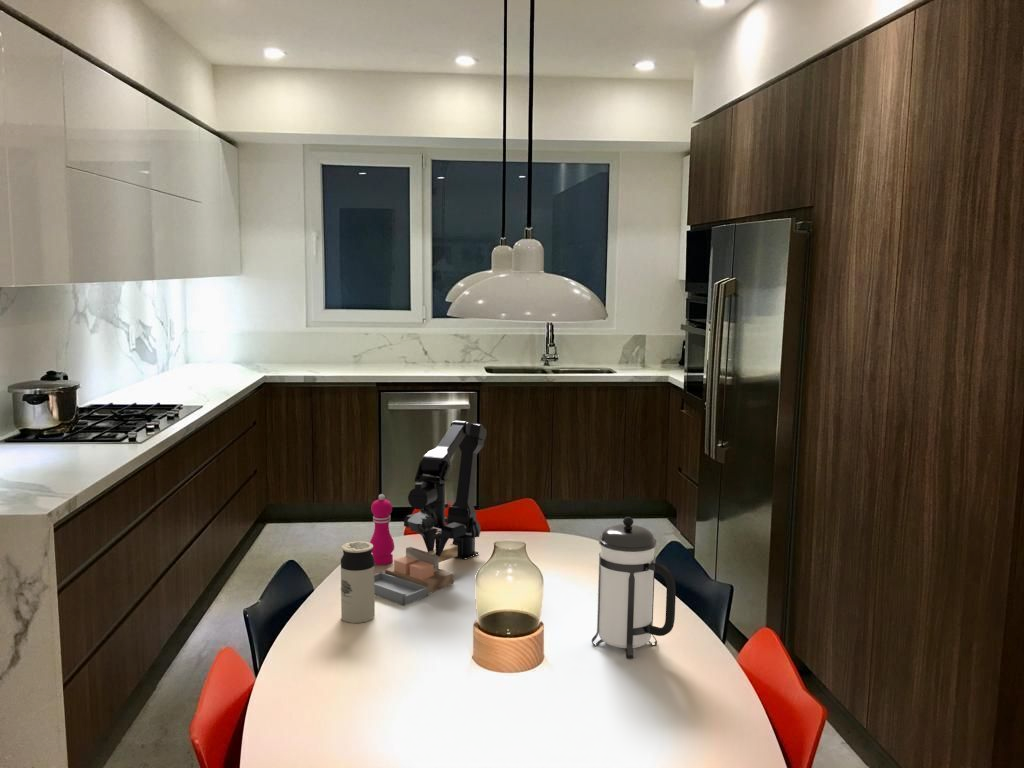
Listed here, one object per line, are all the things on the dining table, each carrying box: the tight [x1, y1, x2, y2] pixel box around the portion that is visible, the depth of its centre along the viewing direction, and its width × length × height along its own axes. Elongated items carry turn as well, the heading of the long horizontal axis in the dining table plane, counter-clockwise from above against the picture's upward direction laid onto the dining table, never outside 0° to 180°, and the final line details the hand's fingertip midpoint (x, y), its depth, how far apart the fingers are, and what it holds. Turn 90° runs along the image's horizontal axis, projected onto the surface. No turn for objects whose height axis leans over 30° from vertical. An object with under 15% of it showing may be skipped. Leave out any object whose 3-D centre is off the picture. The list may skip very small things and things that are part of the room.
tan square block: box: [393, 555, 418, 574], centre depth 236 cm, size 4×4×3 cm
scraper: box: [405, 543, 458, 572], centre depth 241 cm, size 14×11×4 cm
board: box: [384, 566, 454, 594], centre depth 236 cm, size 10×16×3 cm, turn 51°
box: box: [374, 571, 430, 607], centre depth 228 cm, size 9×18×3 cm, turn 51°
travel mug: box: [340, 541, 376, 624], centre depth 210 cm, size 8×8×18 cm
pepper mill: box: [369, 493, 395, 566], centre depth 251 cm, size 7×7×20 cm
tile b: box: [410, 561, 434, 580], centre depth 232 cm, size 4×4×3 cm
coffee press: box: [591, 516, 677, 659], centre depth 196 cm, size 17×16×30 cm
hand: (434, 555), depth 240 cm, fingers closed on scraper, 2 cm apart
